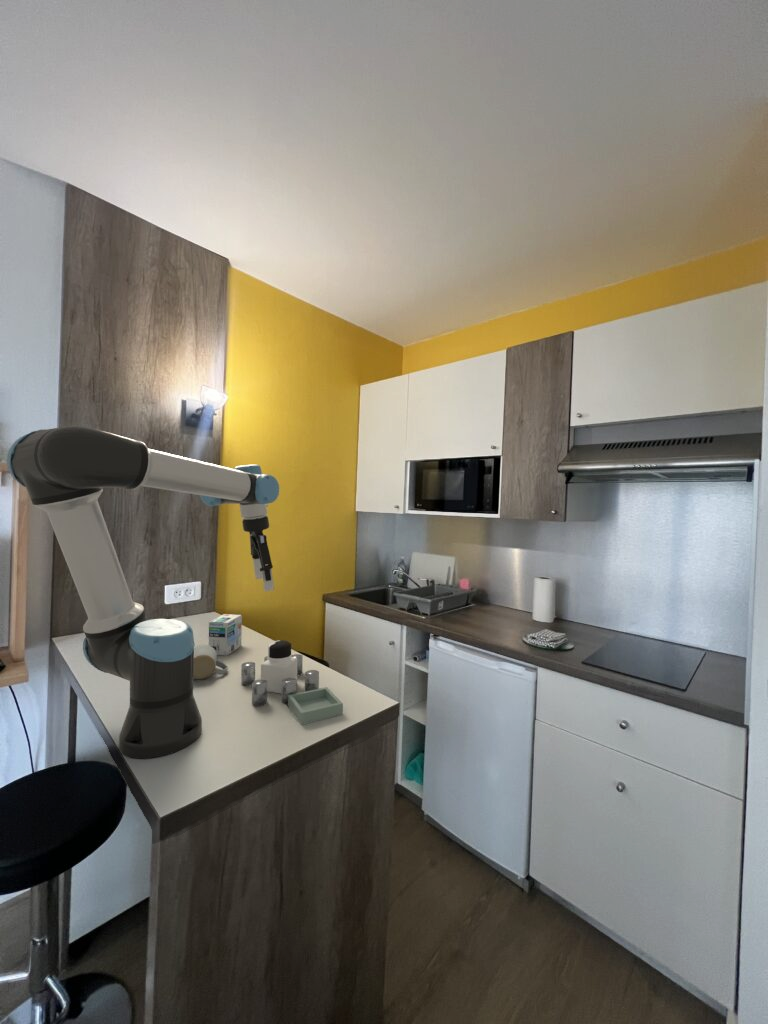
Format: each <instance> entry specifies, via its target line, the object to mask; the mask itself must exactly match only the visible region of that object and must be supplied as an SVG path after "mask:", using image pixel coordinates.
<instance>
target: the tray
mask: <svg viewBox="0 0 768 1024" xmlns="http://www.w3.org/2000/svg"><path fill="white" fill-rule="evenodd" d="M287 706H288V708H289V710H290V711H291V713H292V714H293V715H294V717H295V718H296V720H297V721H298V723H299V724H300V725H302V726H303V725H306V724H311V723H314V722H319V721H322V720H325V719H330V718H334V717H338V716H342V715H344V713H343V711H344V710H343V709H344V703H343V702H342V701H341V700H340V698H338V697H337V696H336V694H335V693H333V692H332V691H331V690H330V689H329V687H321V688H320V687H319V689H315V690H311V691H306V692H305V691H303V692H302V691H301V692H297V693H296V694H292V695H288V704H287Z"/></svg>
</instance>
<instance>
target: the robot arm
mask: <svg viewBox="0 0 768 1024" xmlns="http://www.w3.org/2000/svg"><path fill="white" fill-rule="evenodd" d="M6 465H7V469H8V472H9V473H10V475H11V477H12V478H13V479H14V480H15V481H16V482H17V483H18V484H19V485H21V486H22V487H24V488H25V489H26V491H27V493H28V496H29V498H30V500H31V503H32V506H33V507H35V508H37V509H40V510H42V511H44V513H46V515H47V517H48V519H49V521H50V524H51V527H52V530H53V532H54V535H55V537H56V539H57V542H58V544H59V547H60V550H61V552H62V554H63V555H62V556H63V557H64V559H65V562H66V565H67V568H68V570H69V572H70V576H71V578H72V580H73V583H74V585H75V588H76V591H77V594H78V596H79V598H80V601H81V603H82V606H83V608H84V610H85V614H86V616H87V620H86V621H85V623H84V624H83V626H82V631H83V632H84V636H85V638H84V639H83V641H82V652H83V655H84V657H85V659H86V661H87V662H88V663H89V664H90V665H91V666H92V667H94V668H95V669H97V670H98V671H100V672H103V673H106V674H109V675H113V676H116V677H119V678H122V679H124V680H127V681H129V706H128V710H127V714H126V716H125V719H124V722H123V724H122V727H121V729H120V732H119V737H118V738H119V739H118V749H119V751H120V753H121V752H122V753H121V754H123V755H124V756H127V757H129V758H134V759H150V758H157V757H163V756H166V755H170V754H172V753H175V752H178V751H180V750H182V749H184V748H186V747H188V746H189V745H192V744H193V743H194V742H195V741H196V740H197V739H198V738H199V737H200V735H201V734H202V729H203V720H202V715H201V713H200V710H199V708H198V704H197V701H196V699H195V696H194V678H193V666H194V648H195V647H196V646H195V645H196V644H195V638H194V630H193V628H192V627H191V626H190V624H188V623H187V622H185V621H183V620H180V619H175V618H170V619H167V618H154V619H152V618H151V619H148V616H147V613H146V611H145V607H144V606H143V604H141V603H138V602H135V601H133V597H132V595H131V592H130V589H129V586H128V584H127V580H126V578H125V575H124V571H123V569H122V566H121V563H120V561H119V558H118V555H117V552H116V549H115V546H114V543H113V541H112V538H111V535H110V532H109V530H108V526H107V523H106V520H105V517H104V516H103V512H102V509H101V506H100V504H99V501H98V499H99V498H100V496H101V494H102V493H103V491H104V490H103V489H104V488H110V489H111V488H112V489H113V488H114V489H124V490H125V489H127V490H137V489H138V488H140V487H145V488H146V487H147V488H151V489H152V488H153V489H160V490H166V491H172V492H178V493H185V494H190V495H197V496H198V495H199V498H200V500H201V501H202V503H203V504H205V505H206V506H208V507H215V506H220V505H224V504H228V505H229V504H231V505H233V504H239V510H240V511H239V512H240V517H241V518H242V520H241V523H242V529H243V531H244V532H247V533H249V540H250V541H249V542H250V555H251V558H252V562H253V563H252V564H253V571H254V577H255V580H260V579H262V583H263V590H264V592H270V591H274V590H275V586H274V579H273V572H272V569H273V567H274V566H273V563H272V558H271V554H270V549H269V545H268V541H267V540H268V539H267V535H266V534H264V533H263V531H264V530H268V529H269V528H270V521H269V516H268V515H267V514H268V509H267V508H268V507H269V504H272V503H274V502H276V500H278V497H279V495H280V484H279V481H278V479H277V478H276V477H275V476H273V475H271V474H265V473H263V472H262V468H261V465H259V464H246V465H245V464H244V465H236V466H235V467H234V468H231V467H226V466H222V465H218V464H214V463H209V462H204V461H201V460H197V459H193V458H188V457H185V456H184V457H183V456H182V455H181V456H180V455H176V454H173V453H172V454H171V453H168V452H164V451H159V450H155V449H151V448H148V446H147V444H146V443H144V442H143V441H141V440H136V439H133V438H129V437H126V436H121V435H118V434H114V433H112V432H107V431H104V430H100V429H97V428H92V427H88V426H82V425H65V426H63V425H62V426H60V427H59V426H58V427H55V428H54V427H53V428H47V429H37V430H34V431H31V432H29V433H27V434H25V435H23V436H21V437H19V438H18V439H16V440H15V441H14V442H13V444H11V446H10V448H9V450H8V451H7V456H6Z"/></svg>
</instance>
